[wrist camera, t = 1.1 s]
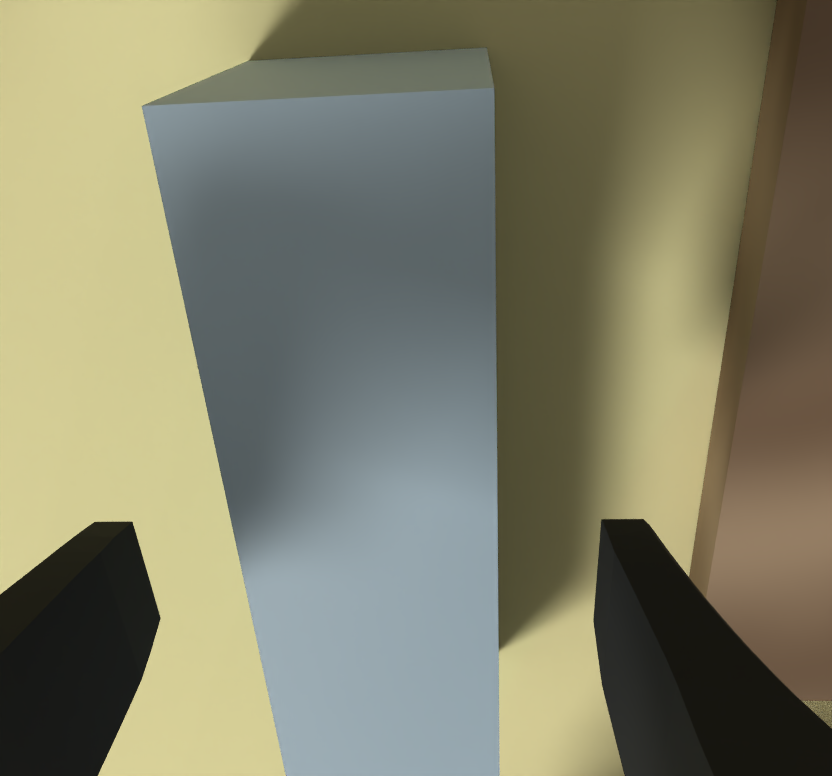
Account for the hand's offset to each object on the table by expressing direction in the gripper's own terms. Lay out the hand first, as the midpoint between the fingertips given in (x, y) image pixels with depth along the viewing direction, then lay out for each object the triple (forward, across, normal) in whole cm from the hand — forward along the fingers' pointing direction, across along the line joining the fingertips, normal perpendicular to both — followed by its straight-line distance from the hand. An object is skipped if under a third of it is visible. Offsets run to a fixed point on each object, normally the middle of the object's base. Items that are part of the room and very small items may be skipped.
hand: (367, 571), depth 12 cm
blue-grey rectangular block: (+5, 0, 0) cm, 5 cm away
